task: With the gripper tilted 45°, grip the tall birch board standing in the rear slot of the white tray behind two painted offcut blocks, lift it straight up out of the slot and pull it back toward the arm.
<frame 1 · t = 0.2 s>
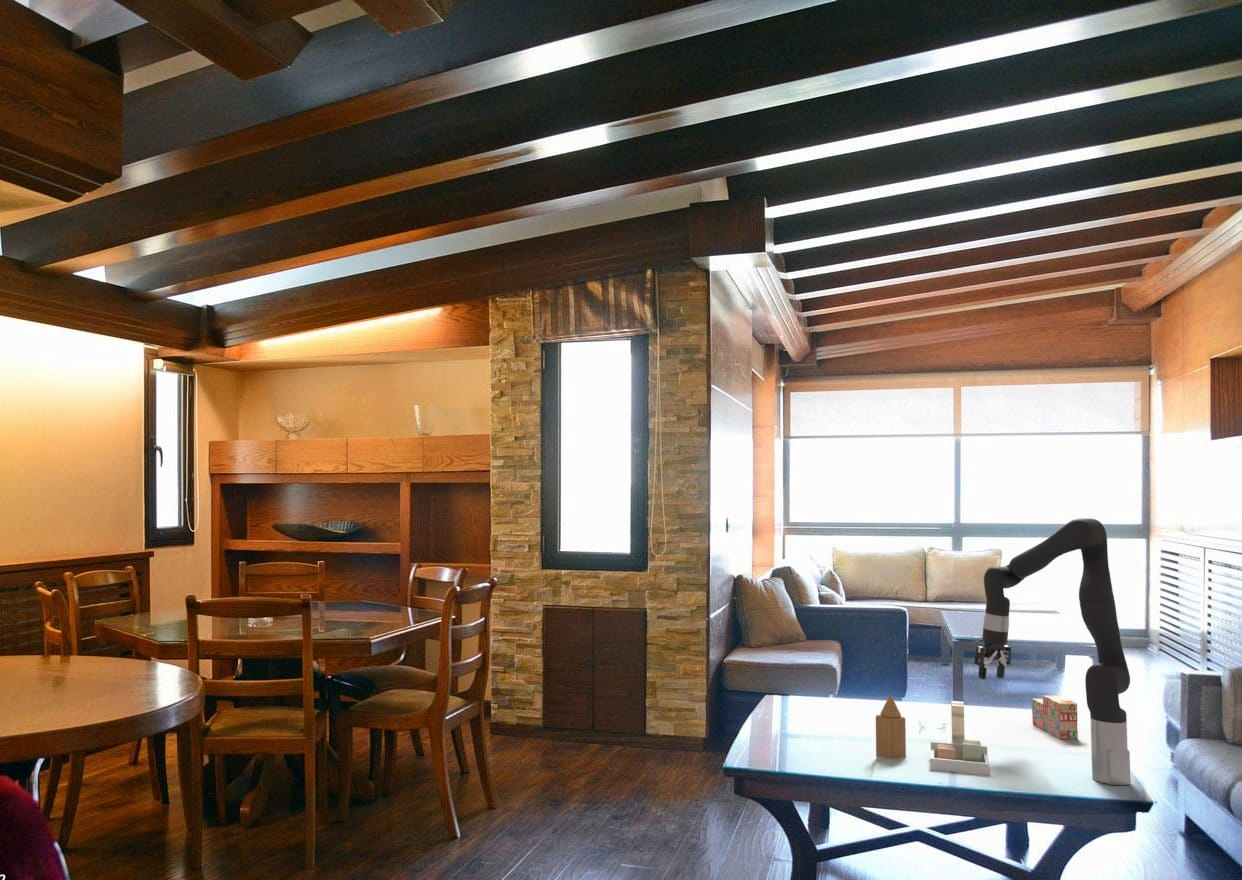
hand: (991, 678, 288), 23 cm above the table, tool pointing down, fingers open, 8 cm apart
white tray: (959, 765, 269), on the table
birch board: (958, 756, 274), point 1 cm above the table, touching white tray
offcut tall: (971, 766, 264), point 1 cm above the table, touching white tray
offcut short: (946, 764, 266), point 1 cm above the table, touching white tray
decorative item: (891, 760, 276), on the table
stack of blocks: (1054, 732, 313), on the table
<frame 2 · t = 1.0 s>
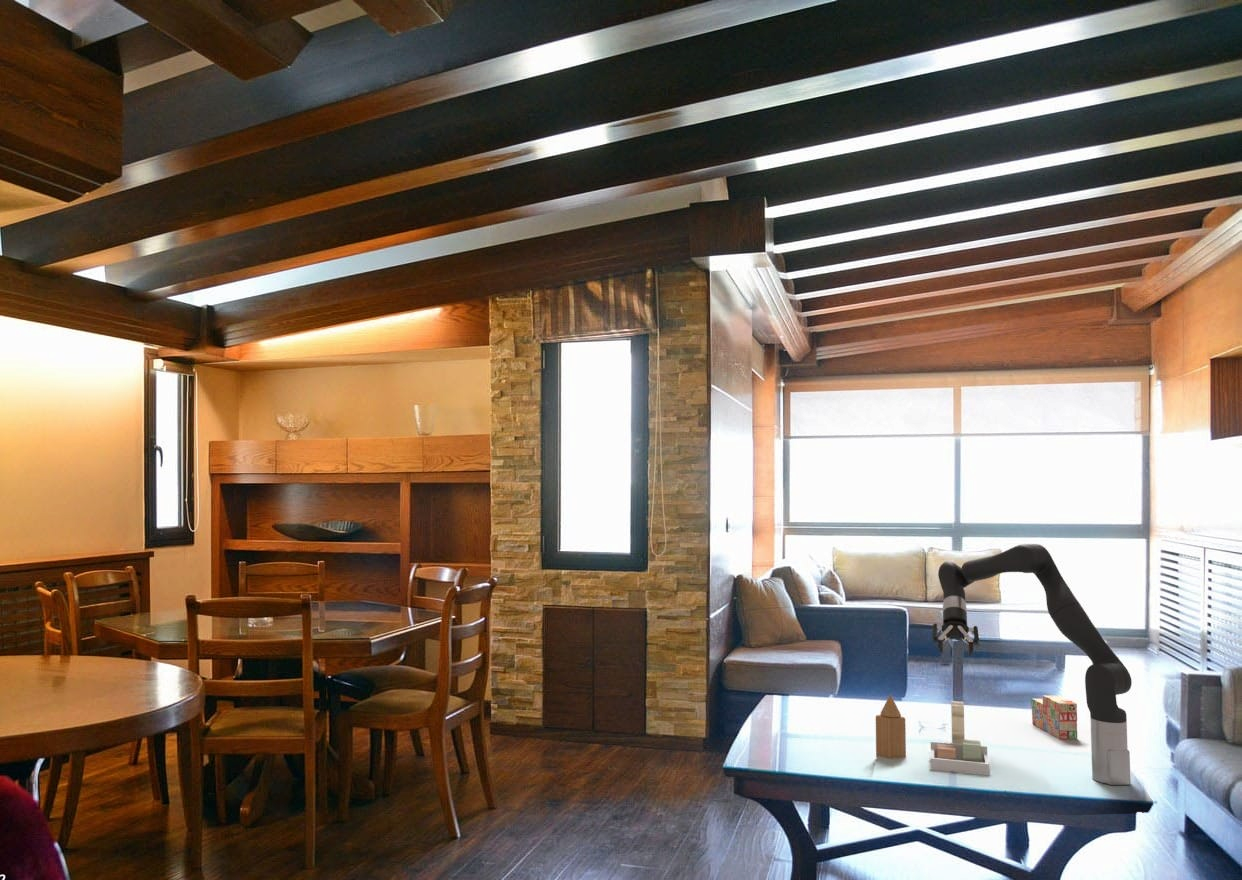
hand: (955, 653, 287), 31 cm above the table, tool tilted 45°, fingers open, 8 cm apart
nothing on the table moved.
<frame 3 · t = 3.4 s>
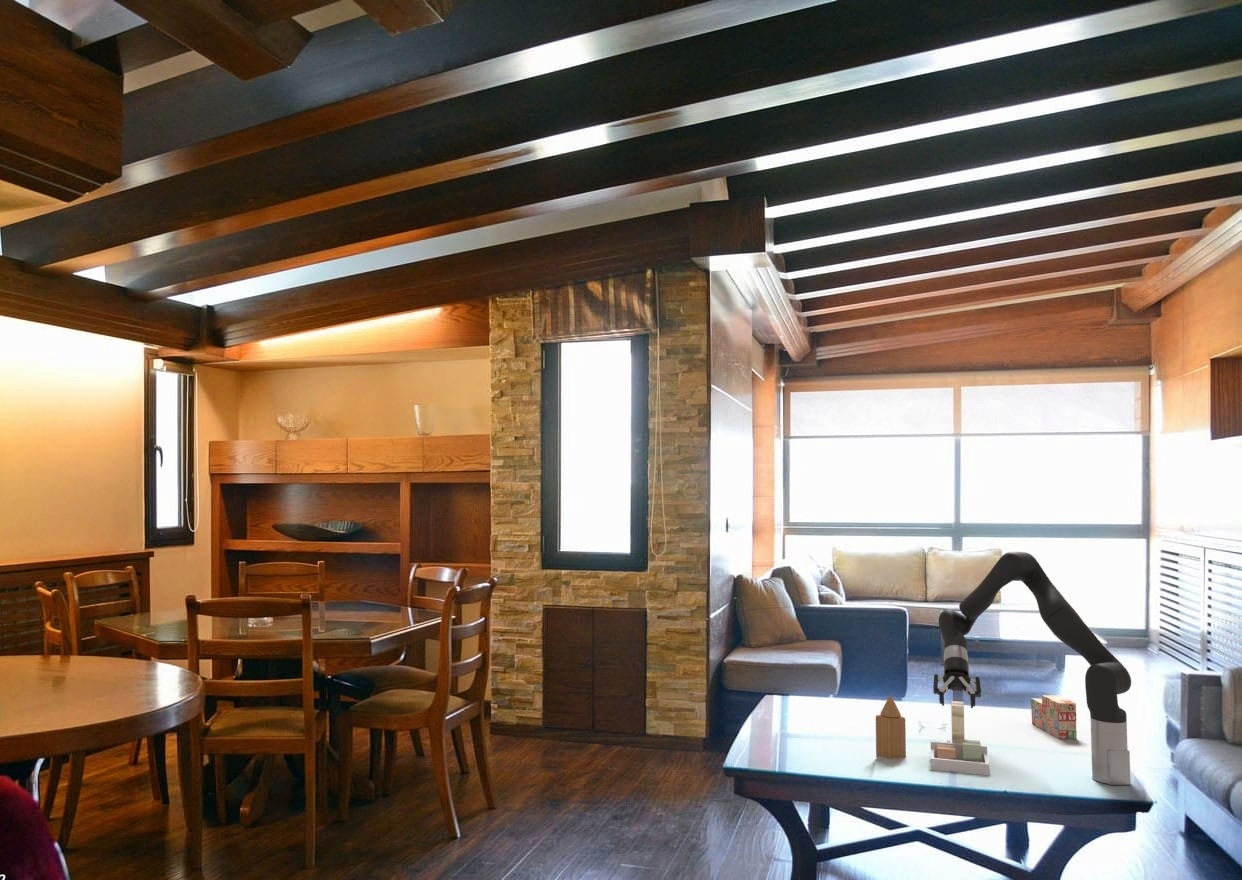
hand: (957, 705, 281), 16 cm above the table, tool tilted 45°, fingers open, 8 cm apart
nothing on the table moved.
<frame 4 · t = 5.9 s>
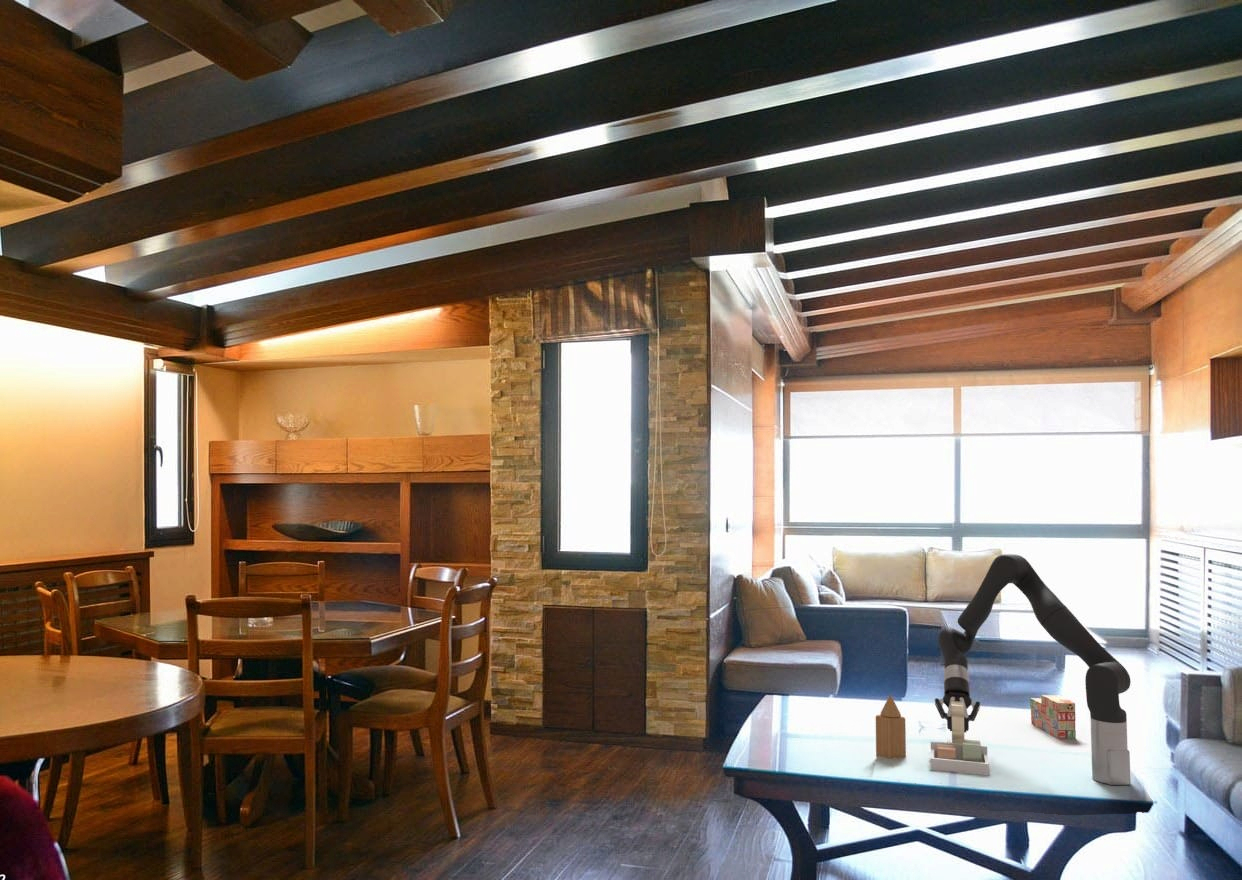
hand: (958, 730, 273), 10 cm above the table, tool tilted 45°, fingers closed on birch board, 3 cm apart
birch board: (958, 756, 274), point 1 cm above the table, touching gripper, white tray
everything else where it was.
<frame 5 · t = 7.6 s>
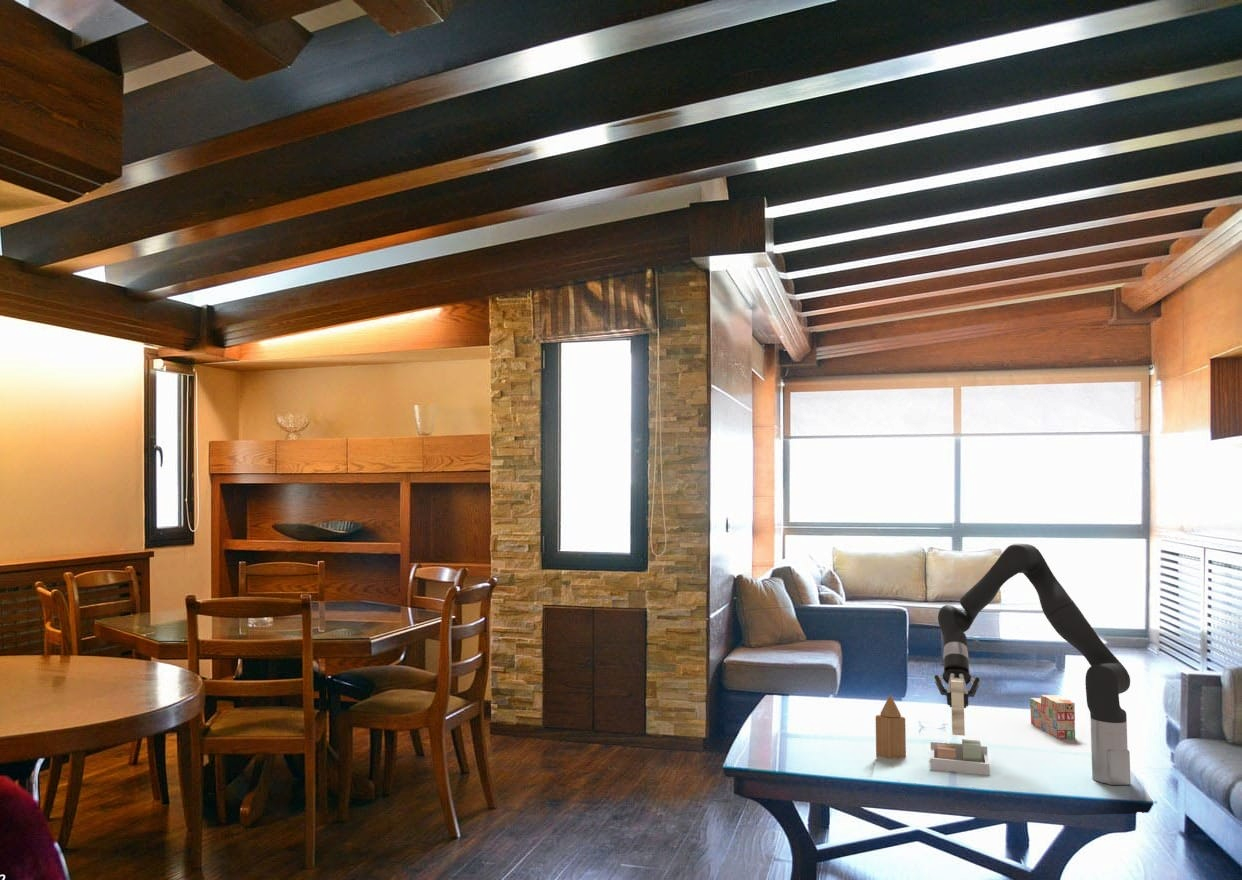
hand: (957, 705, 274), 17 cm above the table, tool tilted 45°, fingers closed on birch board, 3 cm apart
birch board: (958, 732, 275), point 9 cm above the table, touching gripper
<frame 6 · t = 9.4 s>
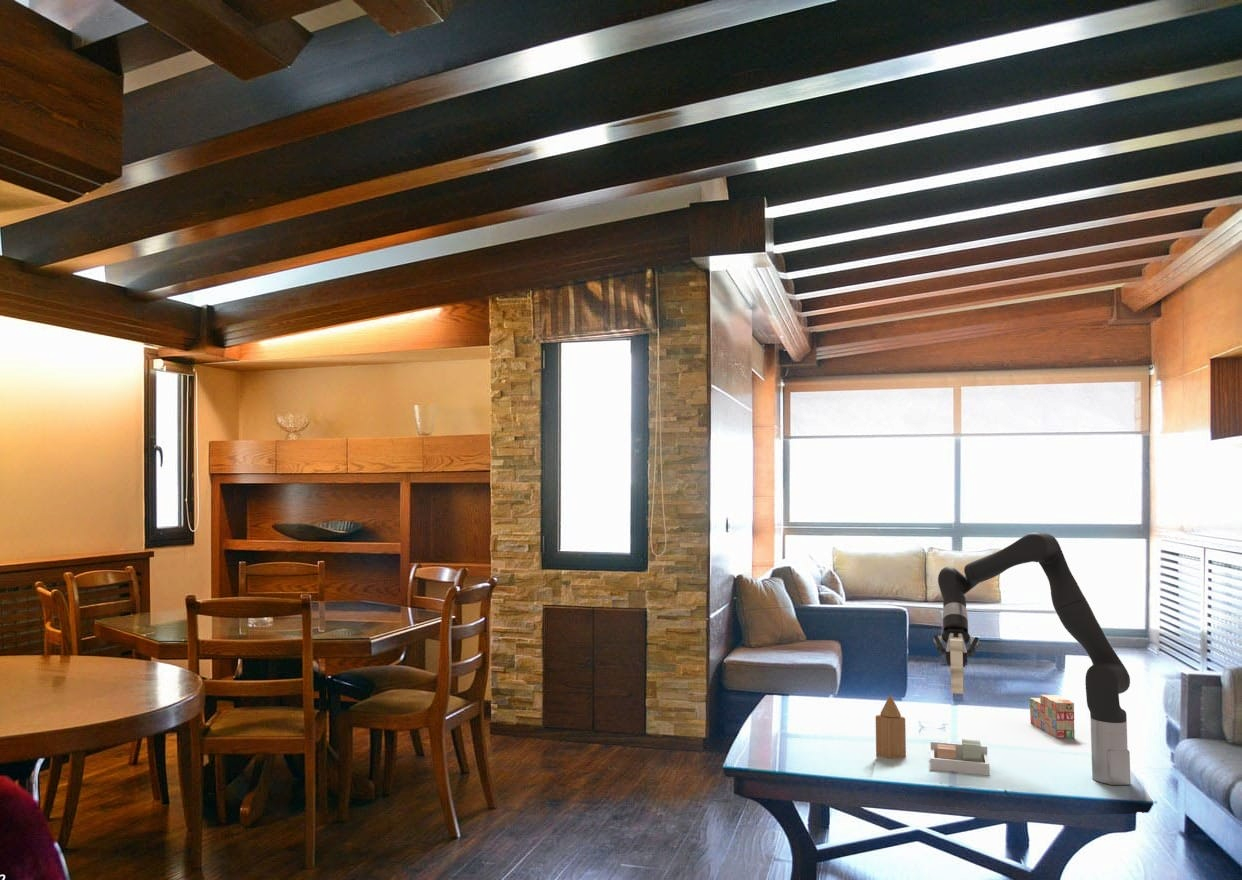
hand: (956, 664, 275), 30 cm above the table, tool tilted 45°, fingers closed on birch board, 3 cm apart
birch board: (957, 691, 276), point 21 cm above the table, touching gripper
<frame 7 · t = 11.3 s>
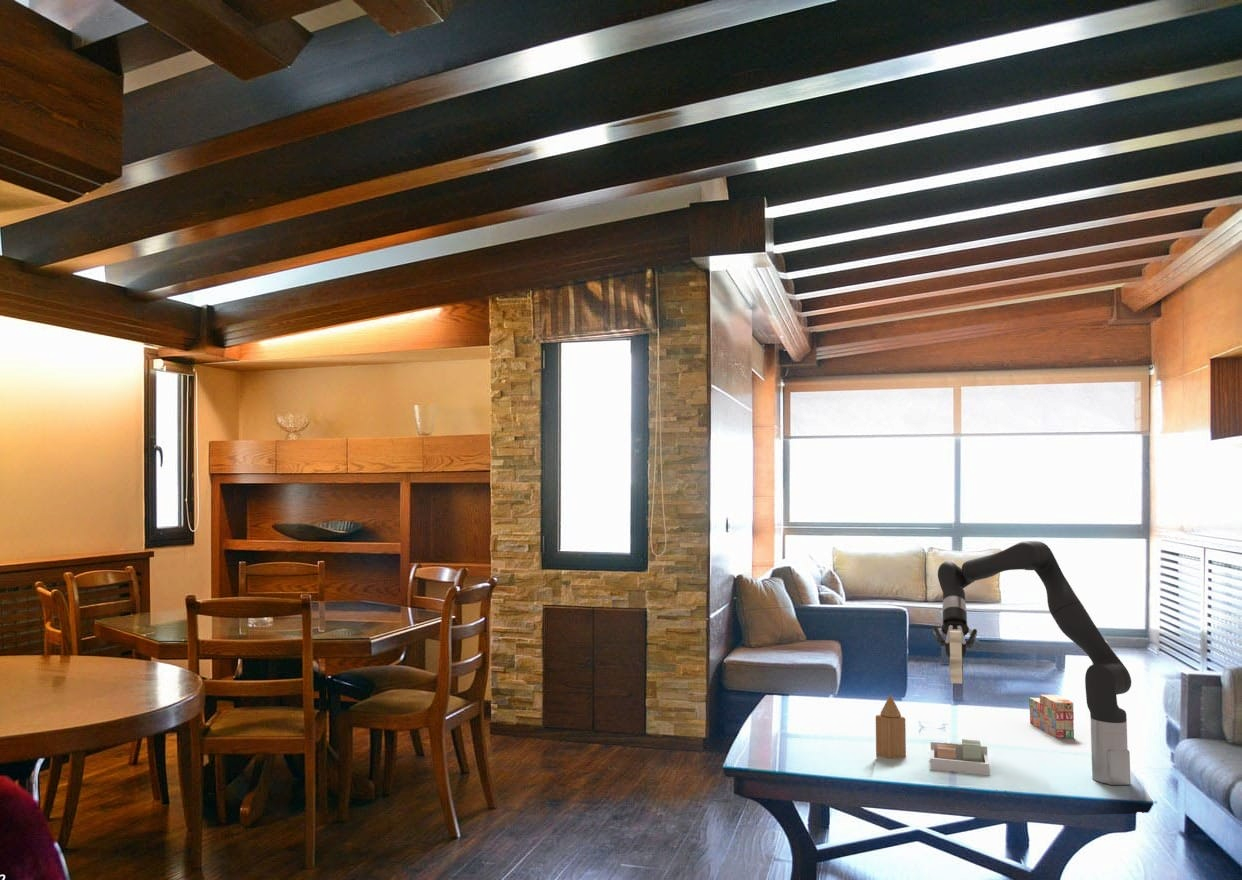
hand: (955, 655, 284), 31 cm above the table, tool tilted 45°, fingers closed on birch board, 3 cm apart
birch board: (956, 681, 285), point 22 cm above the table, touching gripper
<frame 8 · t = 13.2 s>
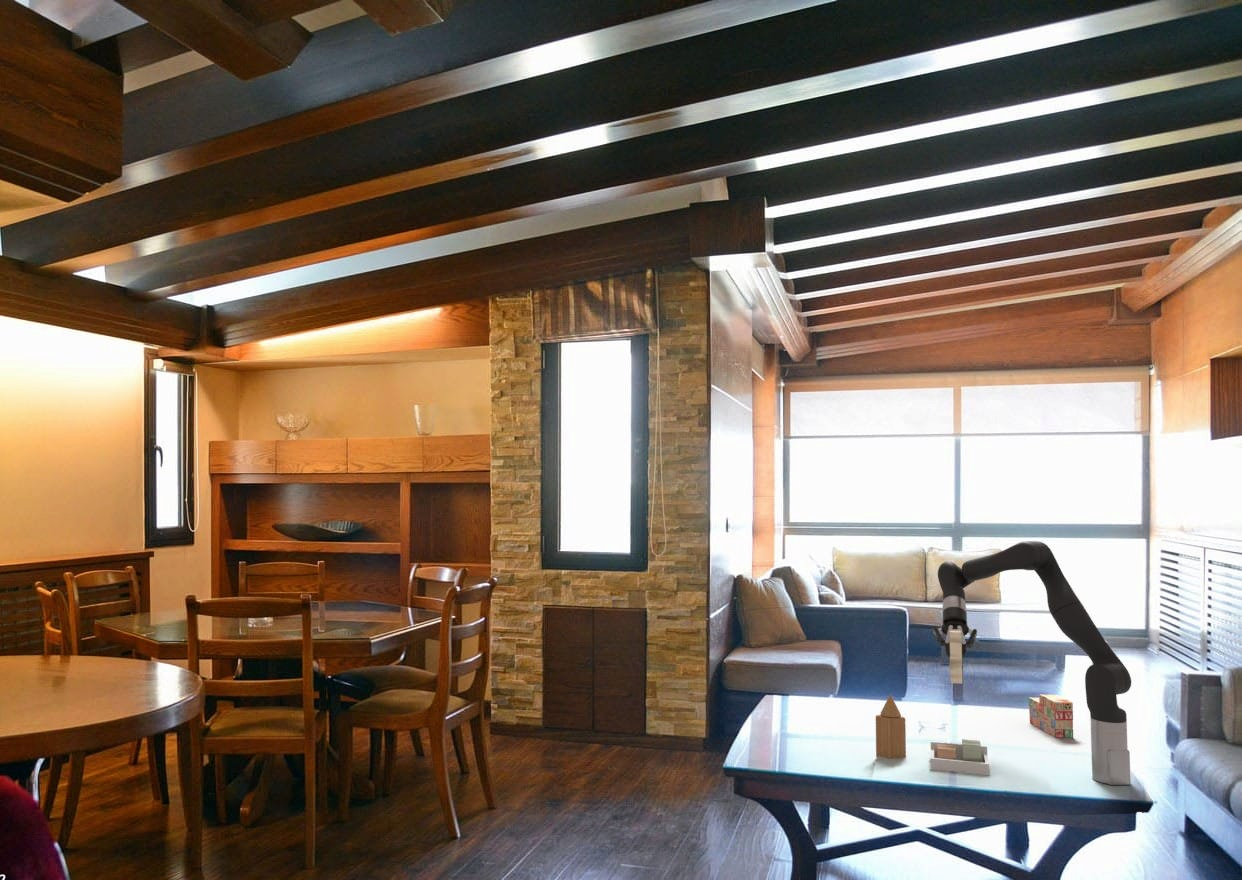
hand: (955, 655, 284), 31 cm above the table, tool tilted 45°, fingers closed on birch board, 3 cm apart
birch board: (956, 681, 285), point 22 cm above the table, touching gripper
at the end: birch board point 22.5 cm above the table; offcut tall moved 0.0 cm from its start; offcut short moved 0.0 cm from its start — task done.
